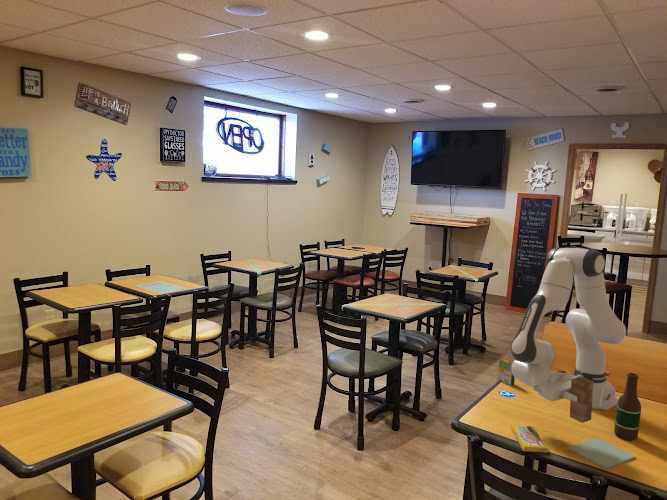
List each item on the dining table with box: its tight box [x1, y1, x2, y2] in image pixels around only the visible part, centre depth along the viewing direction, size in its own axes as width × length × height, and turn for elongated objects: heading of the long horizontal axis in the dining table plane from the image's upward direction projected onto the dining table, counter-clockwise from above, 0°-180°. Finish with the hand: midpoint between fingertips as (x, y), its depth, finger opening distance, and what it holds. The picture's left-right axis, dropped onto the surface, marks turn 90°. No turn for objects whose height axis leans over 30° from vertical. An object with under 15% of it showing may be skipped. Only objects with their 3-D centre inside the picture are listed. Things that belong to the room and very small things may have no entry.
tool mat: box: [568, 437, 636, 470], centre depth 175 cm, size 16×14×1 cm
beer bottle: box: [613, 372, 642, 442], centre depth 186 cm, size 8×8×24 cm
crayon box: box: [497, 356, 516, 386], centre depth 235 cm, size 7×3×12 cm, turn 34°
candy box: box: [510, 424, 549, 454], centre depth 182 cm, size 16×2×8 cm
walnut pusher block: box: [569, 376, 593, 424], centre depth 175 cm, size 4×5×14 cm
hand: (583, 397), depth 174 cm, fingers closed on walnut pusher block, 5 cm apart
